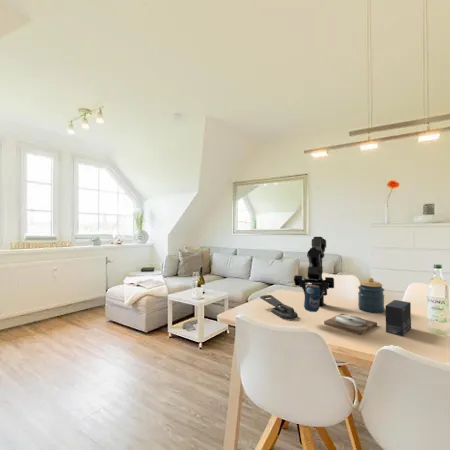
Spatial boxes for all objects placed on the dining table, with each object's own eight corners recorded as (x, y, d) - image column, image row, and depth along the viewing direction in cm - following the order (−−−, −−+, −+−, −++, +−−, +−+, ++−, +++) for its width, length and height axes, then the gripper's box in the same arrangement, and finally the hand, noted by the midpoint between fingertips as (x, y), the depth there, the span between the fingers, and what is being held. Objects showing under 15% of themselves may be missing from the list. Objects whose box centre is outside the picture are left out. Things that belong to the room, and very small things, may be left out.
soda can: (310, 313, 129) (312, 287, 129) (300, 308, 135) (302, 283, 135) (321, 312, 132) (324, 287, 131) (311, 307, 138) (313, 283, 138)
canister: (363, 304, 164) (362, 274, 164) (387, 309, 154) (387, 277, 154) (354, 309, 154) (354, 277, 154) (380, 314, 145) (379, 281, 145)
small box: (394, 324, 131) (394, 299, 131) (411, 328, 126) (411, 302, 126) (385, 332, 122) (384, 305, 122) (403, 336, 117) (402, 308, 117)
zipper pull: (271, 294, 164) (300, 305, 141) (271, 305, 164) (300, 318, 141) (258, 296, 160) (286, 307, 137) (258, 307, 160) (286, 321, 137)
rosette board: (342, 316, 143) (342, 311, 143) (377, 325, 130) (376, 319, 130) (324, 324, 132) (324, 318, 132) (360, 335, 119) (360, 328, 119)
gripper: (294, 259, 140) (290, 285, 130) (333, 260, 133) (333, 289, 123) (296, 272, 148) (293, 298, 138) (334, 274, 140) (334, 301, 130)
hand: (312, 296), depth 132 cm, fingers closed on soda can, 6 cm apart
